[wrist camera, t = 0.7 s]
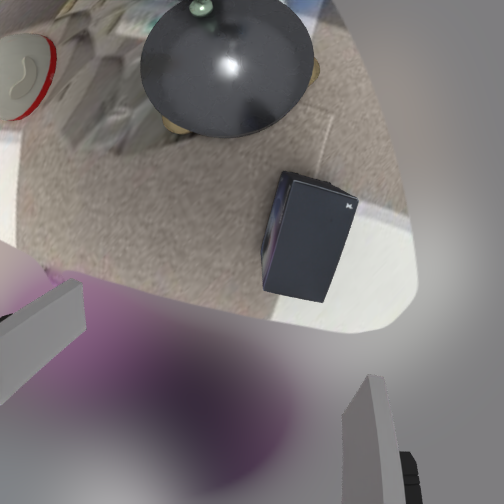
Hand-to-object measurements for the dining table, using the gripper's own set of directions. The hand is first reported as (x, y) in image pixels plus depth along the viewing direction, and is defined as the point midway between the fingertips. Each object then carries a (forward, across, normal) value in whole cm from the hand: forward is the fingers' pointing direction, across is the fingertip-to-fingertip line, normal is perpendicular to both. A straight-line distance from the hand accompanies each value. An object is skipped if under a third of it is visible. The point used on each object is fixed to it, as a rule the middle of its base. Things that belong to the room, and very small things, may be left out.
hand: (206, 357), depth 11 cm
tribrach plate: (+23, -10, +18) cm, 31 cm away
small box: (+26, +2, +1) cm, 26 cm away
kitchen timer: (+17, -41, +16) cm, 47 cm away
